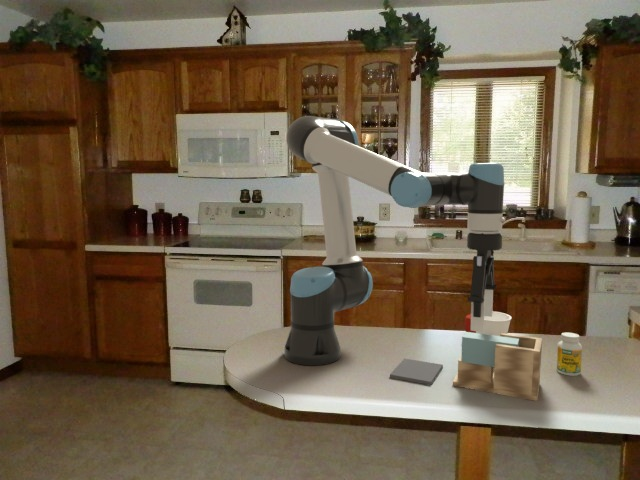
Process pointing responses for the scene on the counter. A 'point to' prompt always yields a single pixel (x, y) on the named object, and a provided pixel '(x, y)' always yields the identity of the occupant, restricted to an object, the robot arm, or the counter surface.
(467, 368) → the cradle
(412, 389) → the counter surface
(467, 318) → the apple
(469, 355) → the bar
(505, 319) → the cup
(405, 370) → the mat
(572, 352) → the supplement bottle
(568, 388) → the counter surface
